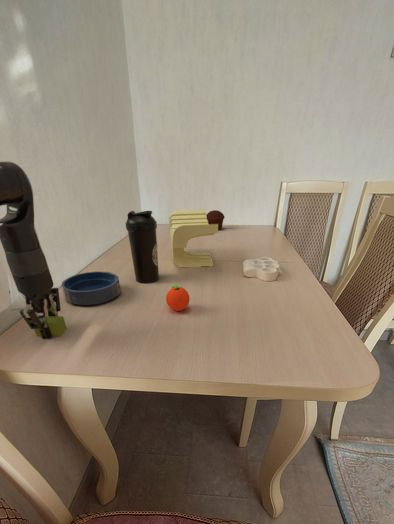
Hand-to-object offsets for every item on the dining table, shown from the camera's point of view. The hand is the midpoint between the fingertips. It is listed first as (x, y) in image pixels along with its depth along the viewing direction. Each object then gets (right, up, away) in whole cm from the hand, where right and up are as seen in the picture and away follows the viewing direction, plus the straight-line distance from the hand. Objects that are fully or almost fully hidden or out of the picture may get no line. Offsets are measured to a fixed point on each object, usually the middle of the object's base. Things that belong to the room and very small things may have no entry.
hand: (52, 334), depth 75 cm
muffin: (+47, +68, +101) cm, 130 cm away
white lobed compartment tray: (+62, +26, +39) cm, 77 cm away
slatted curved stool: (+35, +33, +50) cm, 69 cm away
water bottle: (+18, +22, +35) cm, 45 cm away
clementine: (+31, +8, +14) cm, 35 cm away
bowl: (+3, +14, +23) cm, 27 cm away
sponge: (0, -1, 0) cm, 1 cm away
